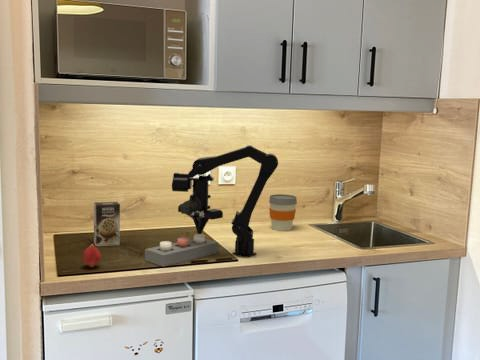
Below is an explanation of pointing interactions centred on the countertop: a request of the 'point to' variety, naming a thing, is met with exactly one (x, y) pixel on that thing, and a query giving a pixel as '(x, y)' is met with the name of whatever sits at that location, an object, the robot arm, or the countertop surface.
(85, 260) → the onion
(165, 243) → the button pale left
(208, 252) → the button panel
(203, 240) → the button pale right
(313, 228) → the countertop surface
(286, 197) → the reusable coffee cup
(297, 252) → the countertop surface
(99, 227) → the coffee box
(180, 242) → the button red middle
